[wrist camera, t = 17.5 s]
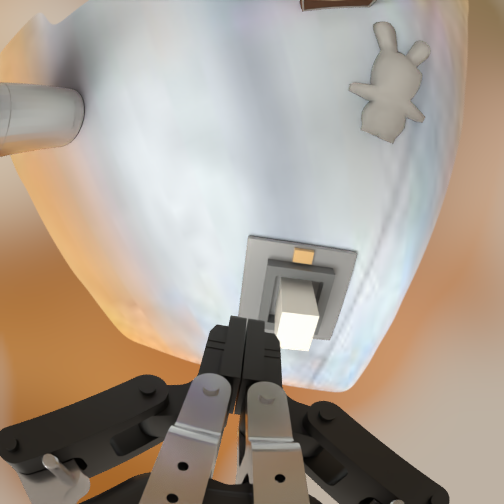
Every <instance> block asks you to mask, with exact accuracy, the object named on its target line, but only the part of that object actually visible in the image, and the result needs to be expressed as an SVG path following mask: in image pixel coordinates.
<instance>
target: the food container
mask: <svg viewBox="0 0 504 504" xmlns="http://www.w3.org/2000/svg"><path fill="white" fill-rule="evenodd" d="M375 1H376V0H300V5H301V9H302V12H304V11H312V10H321V9H333V8H354V7H370V6H371V5H372V4H373V3H374V2H375Z"/></svg>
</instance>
